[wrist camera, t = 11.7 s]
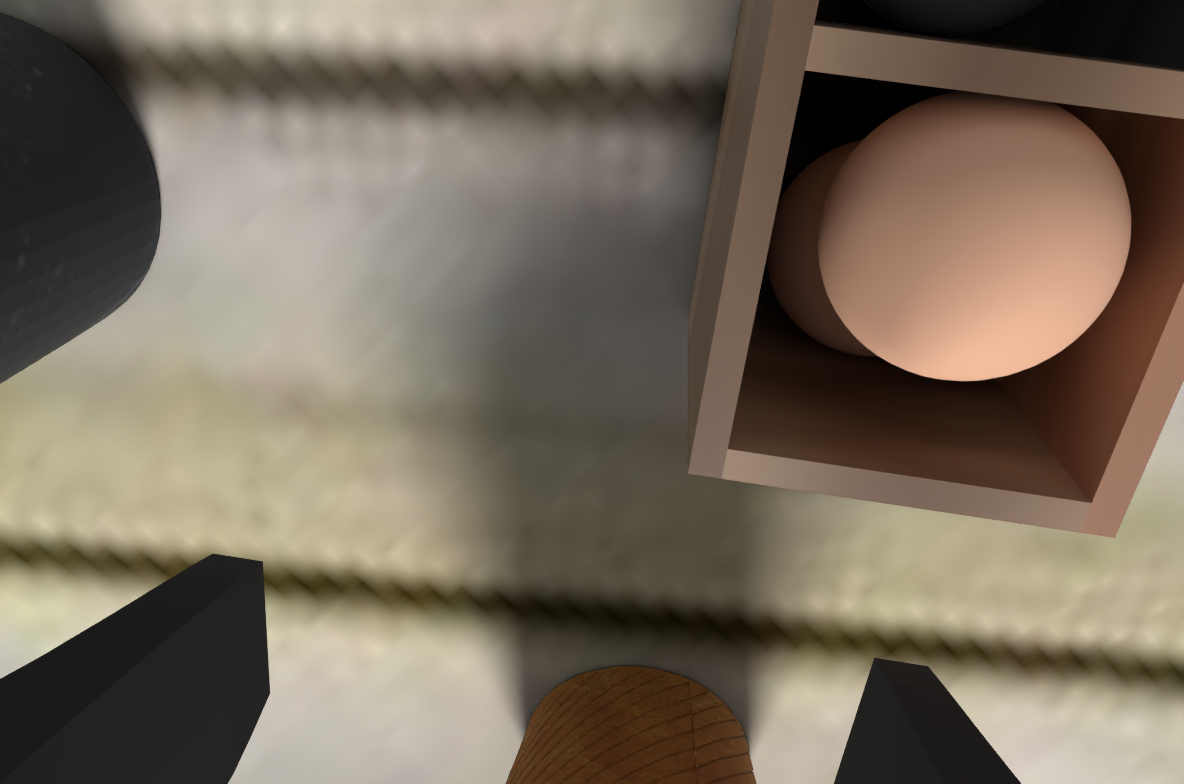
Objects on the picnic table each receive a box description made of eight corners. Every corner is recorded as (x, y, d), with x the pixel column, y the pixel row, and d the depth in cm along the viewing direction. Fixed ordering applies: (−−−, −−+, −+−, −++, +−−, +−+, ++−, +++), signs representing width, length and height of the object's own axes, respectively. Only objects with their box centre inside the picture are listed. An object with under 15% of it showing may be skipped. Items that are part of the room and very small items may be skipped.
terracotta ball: (1011, 223, 15) (1177, 47, 11) (1036, 440, 13) (1238, 314, 10) (784, 189, 15) (879, -2, 11) (780, 404, 13) (891, 262, 10)
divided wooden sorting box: (1193, -329, 14) (1610, -596, 8) (972, 356, 19) (1114, 537, 13) (804, -370, 14) (897, -663, 8) (688, 316, 19) (687, 473, 13)
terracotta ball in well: (1002, 115, 16) (1061, 225, 13) (929, 289, 19) (965, 414, 16) (788, 87, 17) (799, 191, 14) (746, 265, 19) (748, 384, 16)
